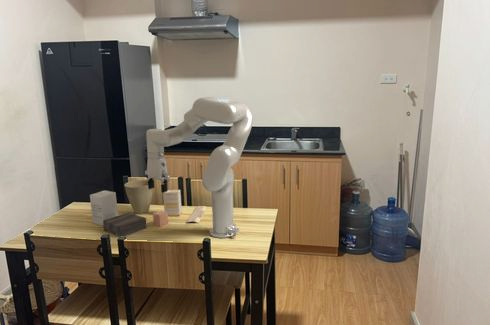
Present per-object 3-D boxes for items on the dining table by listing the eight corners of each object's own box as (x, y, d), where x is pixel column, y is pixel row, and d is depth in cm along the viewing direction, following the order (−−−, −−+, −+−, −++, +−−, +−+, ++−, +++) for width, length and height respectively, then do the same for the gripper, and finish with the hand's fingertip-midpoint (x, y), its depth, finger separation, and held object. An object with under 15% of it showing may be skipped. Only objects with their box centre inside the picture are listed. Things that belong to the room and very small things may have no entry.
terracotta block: (168, 224, 183) (167, 212, 182) (160, 227, 179) (159, 215, 178) (161, 222, 186) (161, 210, 185) (153, 225, 182) (152, 213, 181)
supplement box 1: (107, 217, 194) (104, 189, 191) (119, 220, 190) (116, 192, 187) (92, 223, 187) (89, 194, 183) (104, 226, 182) (101, 197, 179)
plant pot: (140, 206, 212) (137, 178, 209) (161, 209, 205) (159, 181, 202) (120, 214, 199) (118, 185, 196) (142, 218, 192) (140, 188, 189)
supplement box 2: (182, 213, 198) (180, 189, 196) (179, 216, 194) (178, 192, 191) (167, 213, 199) (165, 189, 196) (164, 216, 194) (162, 192, 192)
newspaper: (196, 209, 207) (196, 205, 207) (209, 209, 206) (208, 206, 206) (186, 224, 184) (186, 221, 184) (200, 224, 183) (200, 221, 183)
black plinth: (146, 228, 179) (146, 218, 178) (121, 237, 168) (120, 227, 167) (129, 221, 187) (128, 212, 186) (104, 230, 177) (103, 220, 176)
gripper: (174, 156, 173) (175, 191, 177) (150, 152, 184) (152, 185, 188) (161, 158, 168) (163, 195, 171) (138, 154, 178) (140, 188, 182)
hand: (157, 190), depth 179 cm, fingers open, 9 cm apart
